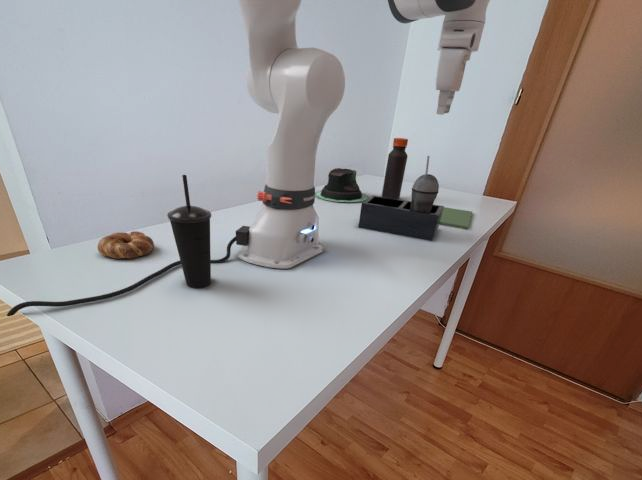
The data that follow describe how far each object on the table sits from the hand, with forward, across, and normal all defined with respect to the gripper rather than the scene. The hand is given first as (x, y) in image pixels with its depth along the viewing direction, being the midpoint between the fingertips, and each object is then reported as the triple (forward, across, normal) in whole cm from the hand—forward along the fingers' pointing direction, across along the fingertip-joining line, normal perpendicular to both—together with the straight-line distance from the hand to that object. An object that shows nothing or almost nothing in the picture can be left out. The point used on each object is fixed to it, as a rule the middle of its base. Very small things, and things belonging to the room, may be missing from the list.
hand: (442, 113), depth 90 cm
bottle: (+30, -36, -16) cm, 49 cm away
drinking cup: (+29, +59, -33) cm, 74 cm away
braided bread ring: (+29, +54, -57) cm, 84 cm away
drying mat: (+30, -22, +5) cm, 37 cm away
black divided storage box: (+29, 0, -5) cm, 30 cm away
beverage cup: (+30, 0, 0) cm, 30 cm away
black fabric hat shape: (+30, -28, -33) cm, 52 cm away
